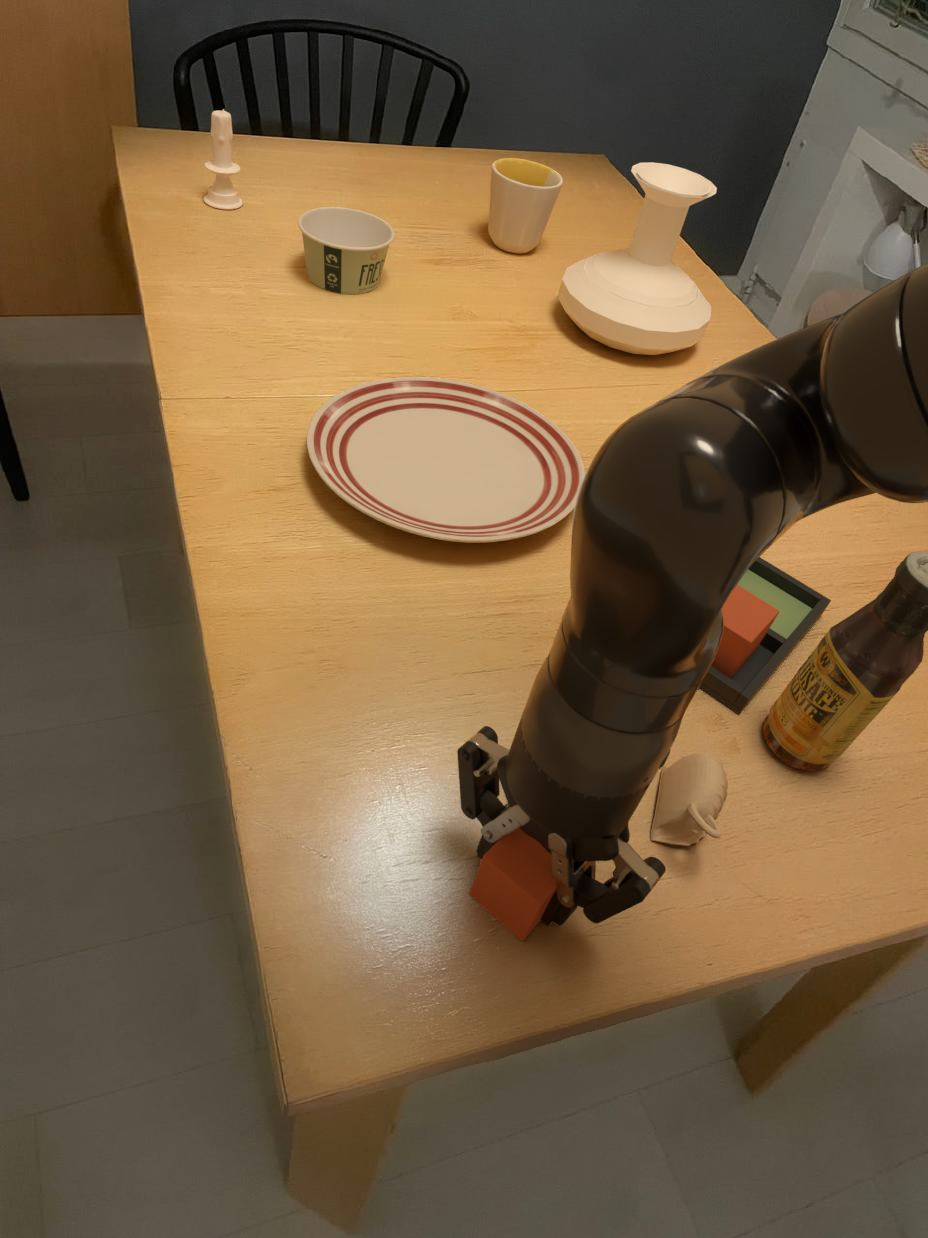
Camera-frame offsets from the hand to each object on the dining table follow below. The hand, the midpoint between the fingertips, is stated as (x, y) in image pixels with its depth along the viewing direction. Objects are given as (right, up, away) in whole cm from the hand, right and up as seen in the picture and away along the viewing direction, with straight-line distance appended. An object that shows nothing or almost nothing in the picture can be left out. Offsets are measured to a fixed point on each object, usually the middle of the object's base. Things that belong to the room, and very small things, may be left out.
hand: (522, 887), depth 57 cm
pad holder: (+21, +16, +21) cm, 34 cm away
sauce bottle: (+23, +7, +13) cm, 28 cm away
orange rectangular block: (+18, +15, +18) cm, 30 cm away
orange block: (0, 0, 0) cm, 0 cm away
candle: (-38, +76, +66) cm, 107 cm away
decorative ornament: (+12, +3, +7) cm, 14 cm away
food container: (-20, +62, +56) cm, 86 cm away
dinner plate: (-6, +32, +31) cm, 45 cm away
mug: (+3, +74, +74) cm, 105 cm away
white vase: (+18, +56, +60) cm, 84 cm away
